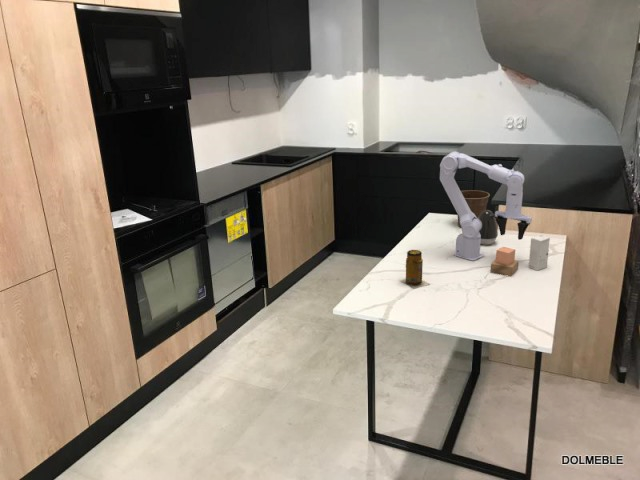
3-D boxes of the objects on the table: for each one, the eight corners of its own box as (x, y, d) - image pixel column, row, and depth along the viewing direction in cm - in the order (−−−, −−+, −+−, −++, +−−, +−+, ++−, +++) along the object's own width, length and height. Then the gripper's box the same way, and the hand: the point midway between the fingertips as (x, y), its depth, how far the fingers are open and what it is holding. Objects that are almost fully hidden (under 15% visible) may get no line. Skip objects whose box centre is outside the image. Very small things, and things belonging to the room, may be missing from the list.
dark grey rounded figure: (485, 248, 218) (487, 214, 213) (468, 242, 226) (469, 209, 221) (502, 244, 222) (505, 210, 217) (485, 237, 231) (487, 205, 226)
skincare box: (538, 270, 193) (541, 241, 189) (527, 267, 196) (530, 238, 192) (547, 267, 196) (550, 237, 192) (537, 263, 199) (540, 234, 195)
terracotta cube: (495, 262, 193) (496, 250, 192) (502, 258, 196) (503, 246, 195) (507, 265, 190) (508, 253, 188) (514, 261, 193) (515, 249, 191)
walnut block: (490, 273, 194) (490, 263, 192) (497, 266, 200) (497, 256, 198) (511, 277, 189) (512, 267, 188) (517, 270, 195) (518, 260, 194)
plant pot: (454, 231, 241) (456, 198, 236) (451, 221, 256) (453, 190, 251) (490, 231, 239) (492, 198, 233) (485, 221, 254) (487, 189, 248)
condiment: (416, 276, 193) (416, 247, 189) (430, 284, 186) (430, 254, 182) (400, 280, 190) (400, 251, 186) (413, 288, 183) (414, 258, 179)
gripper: (491, 202, 198) (489, 235, 203) (525, 209, 187) (523, 243, 192) (501, 199, 202) (499, 231, 207) (535, 205, 192) (532, 239, 196)
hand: (511, 236), depth 200 cm, fingers open, 7 cm apart
